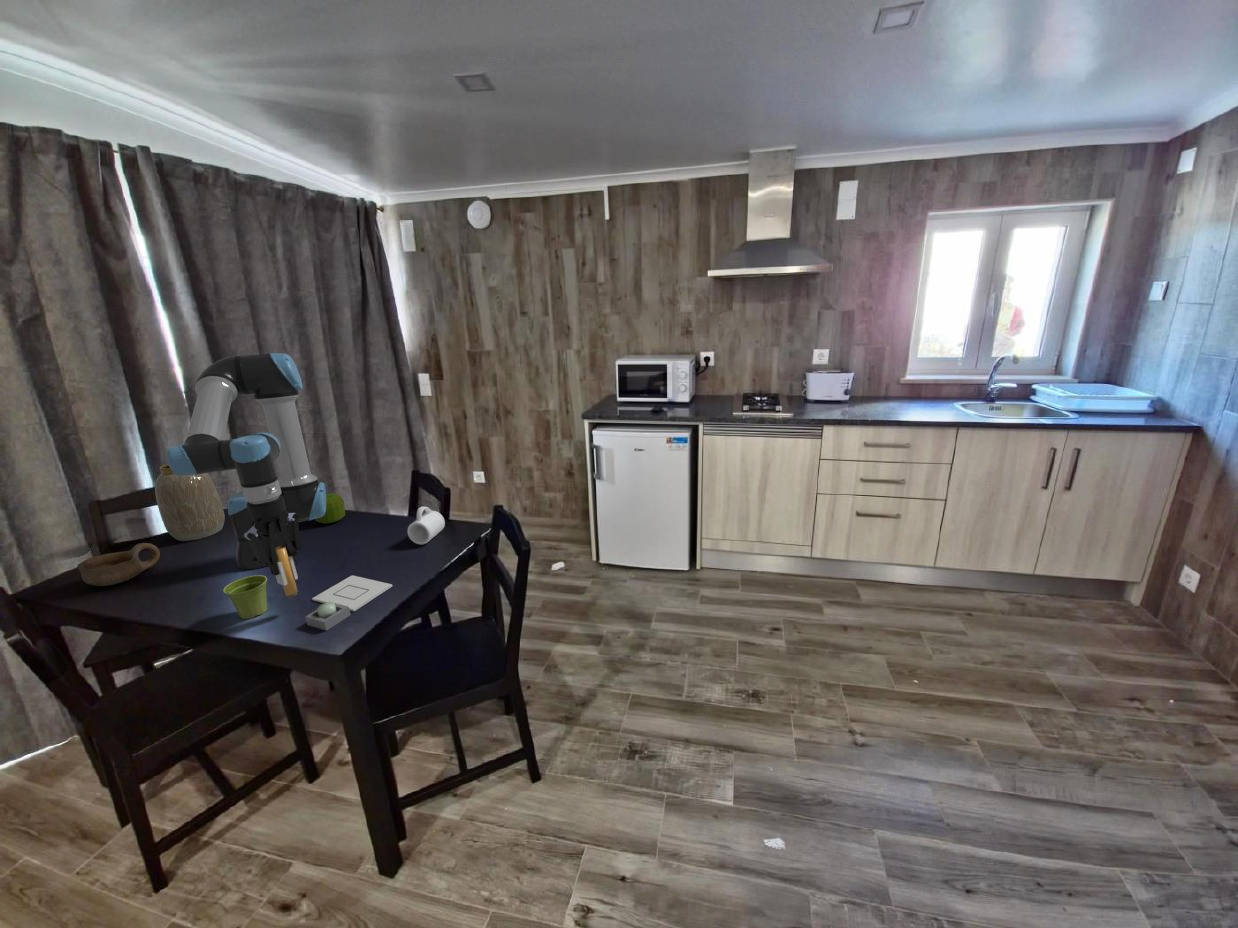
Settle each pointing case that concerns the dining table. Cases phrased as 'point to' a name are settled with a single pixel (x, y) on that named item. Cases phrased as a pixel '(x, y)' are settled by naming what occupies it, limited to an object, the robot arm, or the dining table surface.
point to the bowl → (117, 566)
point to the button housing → (329, 622)
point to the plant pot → (248, 595)
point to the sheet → (353, 592)
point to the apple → (333, 509)
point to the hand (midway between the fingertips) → (288, 580)
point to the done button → (326, 610)
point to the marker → (287, 572)
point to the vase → (188, 505)
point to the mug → (425, 526)
